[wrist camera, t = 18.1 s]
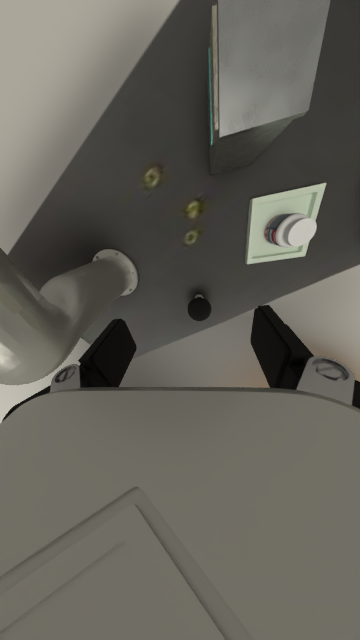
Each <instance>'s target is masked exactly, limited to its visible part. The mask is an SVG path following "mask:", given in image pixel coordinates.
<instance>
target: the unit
mask: <svg viewBox="0 0 360 640" xmlns="http://www.w3.org/2000/svg"><path fill="white" fill-rule="evenodd" d="M329 5H330V0H213V4H212V16H211V30H210V45H209V48H208V76H207V103H208V129H209V156H210V175H214V174H218V173H222V172H226V171H230V170H234V169H237V168H241V167H245V166H249V165H250V164H251V163H252V162H253V161H254V160H255V159H256V158H257V157H258V156H259V155H260V154H261V153H262V152H263V151H264V150H265V149H266V147H267V146H268V145H269V144H270V143H271V142H272V141H273V140H274V139H275V138H276V137H277V136H278V135H279V134H280V133H281V132H282V131H283V130H284V129H285V127H286V126H287V125H288V124H289V123H290V122H291V121H292V120H293V119H295V118H298V117H302V116H304V115H305V114H306V113H307V112H308V110H309V105H310V100H311V95H312V90H313V85H314V80H315V75H316V70H317V65H318V60H319V55H320V50H321V45H322V40H323V35H324V30H325V25H326V20H327V15H328V10H329Z"/></svg>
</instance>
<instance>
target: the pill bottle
mask: <svg viewBox="0 0 360 640" xmlns="http://www.w3.org/2000/svg"><path fill="white" fill-rule="evenodd" d="M316 227H317V226H316V222H315V221H314V220H313V219H311V218H308V217H307V216H306V215H304V214H301V213H290V214H280V215H277V216H275V217H273V218H272V219H271V220H270V221H269V222H268V224H267V225H266V227H265V230H264V237H265V239H266V241H267V242H269V243H271V244H274V245H277V246H280V247H284V248H289V247H293V246H301V245H304V244H305V243H307V242H308V241H309V240H310V239H311V238H312V237H313V236H314V234H315V232H316Z"/></svg>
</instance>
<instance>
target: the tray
mask: <svg viewBox="0 0 360 640" xmlns="http://www.w3.org/2000/svg"><path fill="white" fill-rule="evenodd" d="M325 186H326V183H323V184H318V185H314V186H309V187H305V188H300V189H295V190H291V191H286V192H282V193H277V194H272V195H268V196H263V197H258V198H254V199H251V200H250V202H249V215H248V228H247V241H246V254H245V263H246V264H252V263H259V262H266V261H273V260H280V259H287V258H294V257H301V256H305V255H306V251H307V248H308V244H309V241H310V240H309V241H308V242H307V243H305V244H304V245H301V246H293V247H289V248H284V247H280V246H277V245H274V244H271V243H269V242H267V241H266V239H265V237H264V230H265V227H266V225H267V224H268V222H269V221H270V220H271V219H272V218H273V217H275V216H277V215H280V214H290V213H301V214H304V215H306V216H307V217H308V218H311V219H313V220H314V221H315V220H316V217H317V213H318V210H319V207H320V203H321V200H322V196H323V193H324V189H325Z"/></svg>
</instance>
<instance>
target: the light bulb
mask: <svg viewBox="0 0 360 640" xmlns="http://www.w3.org/2000/svg"><path fill="white" fill-rule="evenodd" d="M210 313H211V305H210V303H209V302H208V301H207V300H206V299H204V298H203V296H202V295H200V294H198V295H196V296H195V299H193V300H192V301H191V302H190V303H189V305H188V314H189V316H190V317H191V318H192V319H194V320H196V321H202V320H205V319H206V318H208V317H209V315H210Z"/></svg>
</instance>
